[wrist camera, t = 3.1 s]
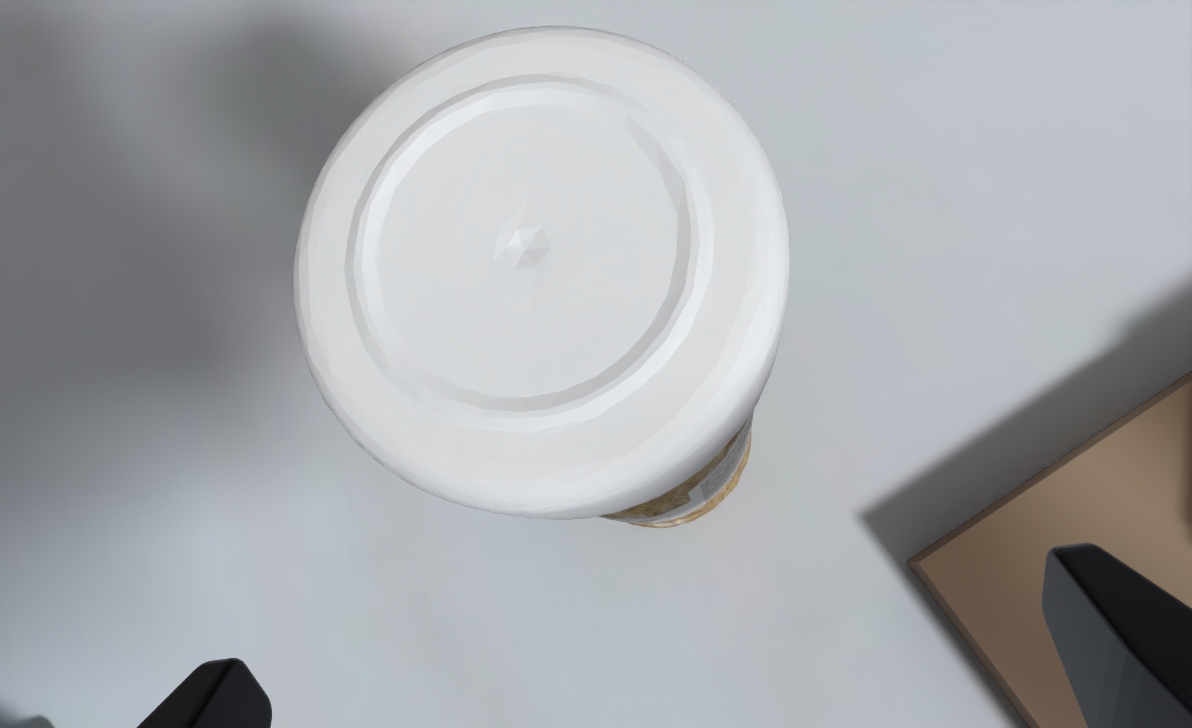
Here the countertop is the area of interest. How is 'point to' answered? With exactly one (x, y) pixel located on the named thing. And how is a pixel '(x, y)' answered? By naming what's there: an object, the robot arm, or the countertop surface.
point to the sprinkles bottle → (548, 279)
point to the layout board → (1061, 517)
